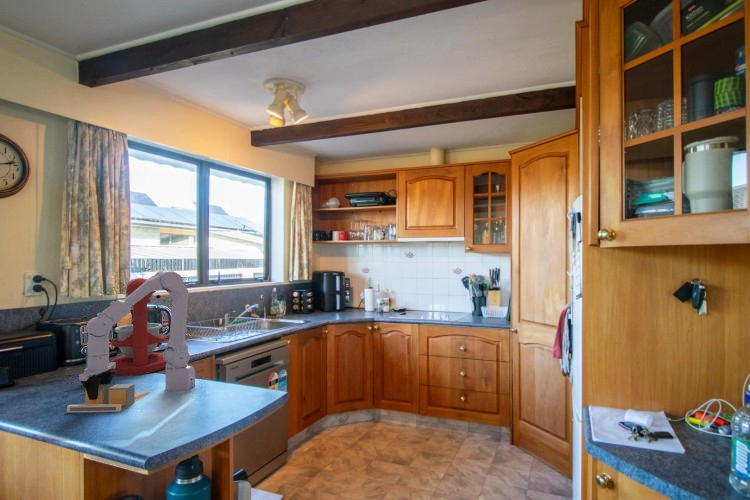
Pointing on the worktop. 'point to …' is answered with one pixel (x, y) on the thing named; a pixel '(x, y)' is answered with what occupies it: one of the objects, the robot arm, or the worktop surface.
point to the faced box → (121, 394)
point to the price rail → (94, 408)
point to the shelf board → (137, 396)
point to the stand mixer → (138, 339)
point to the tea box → (99, 395)
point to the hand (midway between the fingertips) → (98, 396)
